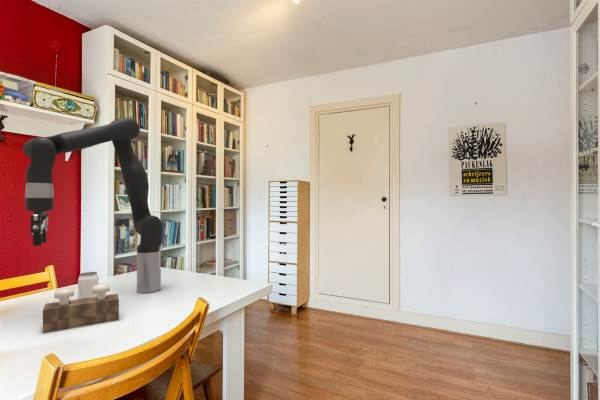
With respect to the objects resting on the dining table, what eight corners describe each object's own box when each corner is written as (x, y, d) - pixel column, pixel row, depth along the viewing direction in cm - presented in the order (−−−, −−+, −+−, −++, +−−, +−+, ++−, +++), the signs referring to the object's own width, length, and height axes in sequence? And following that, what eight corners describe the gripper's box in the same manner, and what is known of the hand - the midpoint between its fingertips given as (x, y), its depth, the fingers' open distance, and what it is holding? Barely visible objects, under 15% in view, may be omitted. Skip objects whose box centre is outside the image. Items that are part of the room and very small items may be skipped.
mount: (117, 313, 113) (117, 293, 113) (118, 319, 107) (118, 299, 107) (45, 325, 102) (45, 303, 102) (42, 333, 96) (42, 310, 96)
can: (76, 308, 117) (76, 276, 117) (79, 303, 123) (79, 272, 123) (97, 306, 120) (97, 274, 120) (99, 301, 126) (99, 271, 126)
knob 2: (109, 304, 110) (109, 282, 110) (110, 308, 106) (110, 285, 106) (92, 306, 108) (92, 284, 108) (92, 311, 104) (92, 288, 104)
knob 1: (74, 309, 105) (74, 286, 105) (73, 314, 101) (73, 290, 101) (55, 312, 102) (55, 289, 102) (53, 317, 98) (53, 292, 98)
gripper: (50, 196, 104) (50, 246, 105) (56, 196, 117) (56, 241, 117) (20, 196, 101) (20, 247, 101) (30, 196, 113) (30, 242, 113)
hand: (39, 244), depth 109 cm, fingers open, 8 cm apart
